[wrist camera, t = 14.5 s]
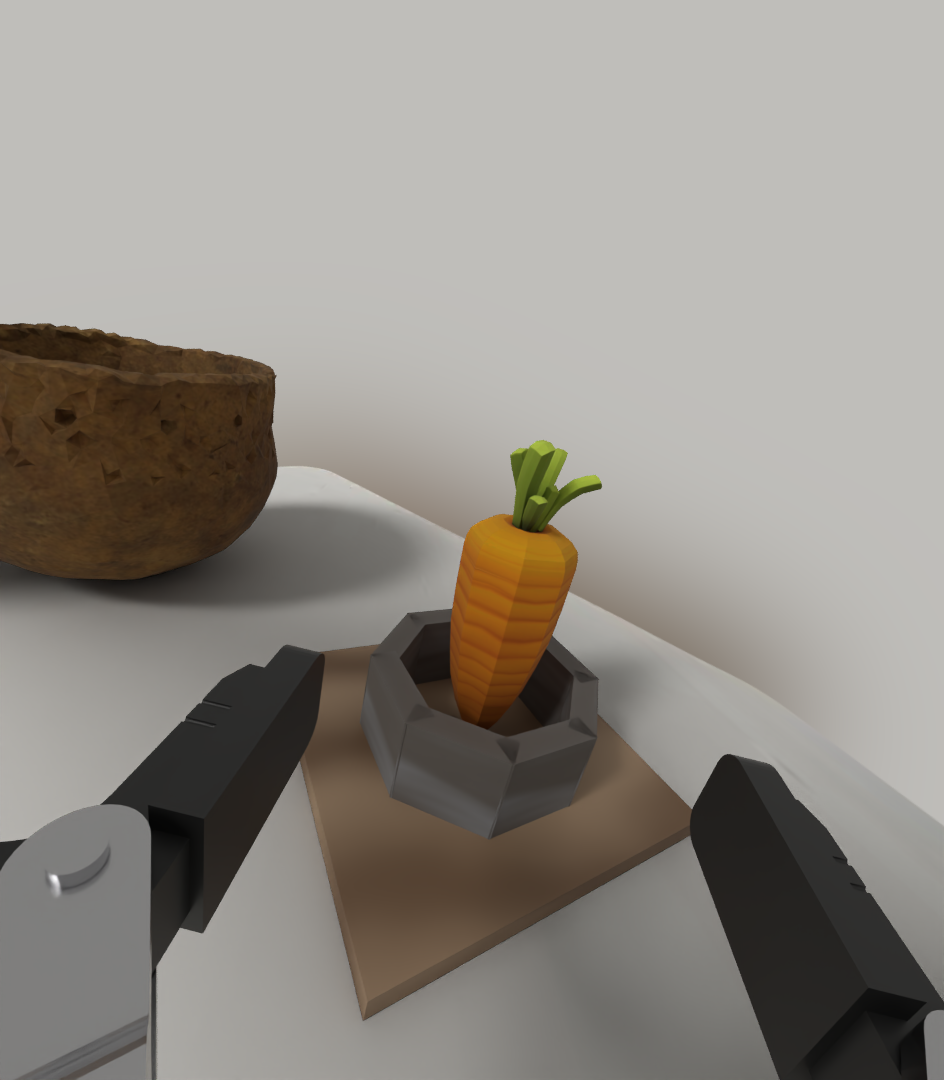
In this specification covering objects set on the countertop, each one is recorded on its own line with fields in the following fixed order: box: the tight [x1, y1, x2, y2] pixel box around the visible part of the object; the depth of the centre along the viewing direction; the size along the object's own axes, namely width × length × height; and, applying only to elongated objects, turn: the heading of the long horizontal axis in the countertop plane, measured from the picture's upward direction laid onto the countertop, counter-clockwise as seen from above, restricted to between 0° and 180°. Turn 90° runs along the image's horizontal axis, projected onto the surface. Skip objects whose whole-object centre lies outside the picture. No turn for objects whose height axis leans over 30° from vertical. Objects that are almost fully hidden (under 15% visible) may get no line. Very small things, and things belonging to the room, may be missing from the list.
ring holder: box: [300, 609, 692, 1020], centre depth 23 cm, size 16×16×5 cm
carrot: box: [450, 440, 602, 730], centre depth 21 cm, size 5×5×15 cm
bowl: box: [0, 323, 278, 580], centre depth 30 cm, size 19×19×15 cm
